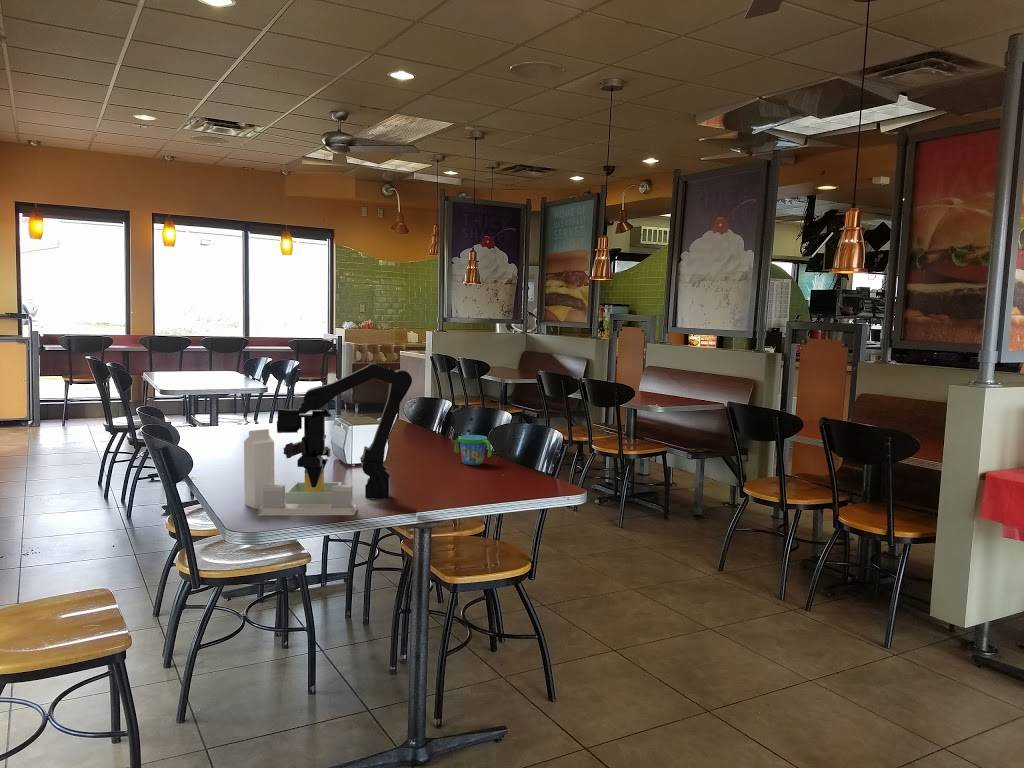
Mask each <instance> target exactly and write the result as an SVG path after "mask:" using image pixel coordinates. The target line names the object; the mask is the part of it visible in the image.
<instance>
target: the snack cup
mask: <svg viewBox="0 0 1024 768" xmlns="http://www.w3.org/2000/svg"><path fill="white" fill-rule="evenodd" d="M459 443H460V448H459ZM486 447H487V449H488V450H487V455H486V456H487V458H490V457H491V456H492V454H493V450H492V446H491V442H490V441H489V440H488V437H487V436H485V435H479V434H467V435H466V434H465V435H460V436H459V437H457V438H456V440H455V442H454V448H453V450H454V453H456V454H457V453H459V452H460V453H461V455H460V456H461V461H462V463H463V464H464V465H468V466H469V465H470V466H479V465H480V466H481V464H483V463H484V457H485V451H486Z"/></svg>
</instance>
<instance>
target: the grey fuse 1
mask: <svg viewBox="0 0 1024 768" xmlns="http://www.w3.org/2000/svg"><path fill="white" fill-rule="evenodd" d="M285 492H286V485H285V484H274V485H265V486H264V487H263V508H284V507H285Z"/></svg>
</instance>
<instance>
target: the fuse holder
mask: <svg viewBox="0 0 1024 768" xmlns="http://www.w3.org/2000/svg"><path fill="white" fill-rule="evenodd" d="M357 511H358V503H352V508H332V504H285V507H284V508H263V505H261V506H260V507H259V508H257V516H355V514H356V512H357Z"/></svg>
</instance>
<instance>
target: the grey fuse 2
mask: <svg viewBox="0 0 1024 768" xmlns="http://www.w3.org/2000/svg"><path fill="white" fill-rule="evenodd" d="M352 504H353V484H342V485H333V487H332V508H352Z"/></svg>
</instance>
